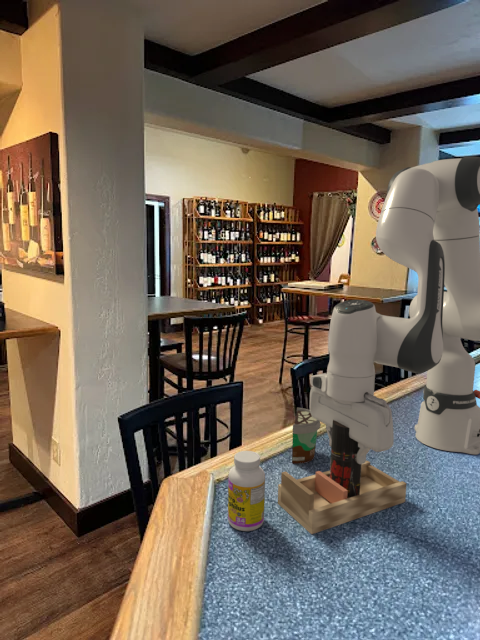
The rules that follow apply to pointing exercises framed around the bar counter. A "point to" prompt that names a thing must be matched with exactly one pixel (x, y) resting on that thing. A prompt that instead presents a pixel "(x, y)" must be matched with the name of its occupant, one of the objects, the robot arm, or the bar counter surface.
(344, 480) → the deodorant
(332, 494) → the plate
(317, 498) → the tray
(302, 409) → the food container
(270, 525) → the bar counter surface
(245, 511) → the supplement bottle
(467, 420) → the robot arm
